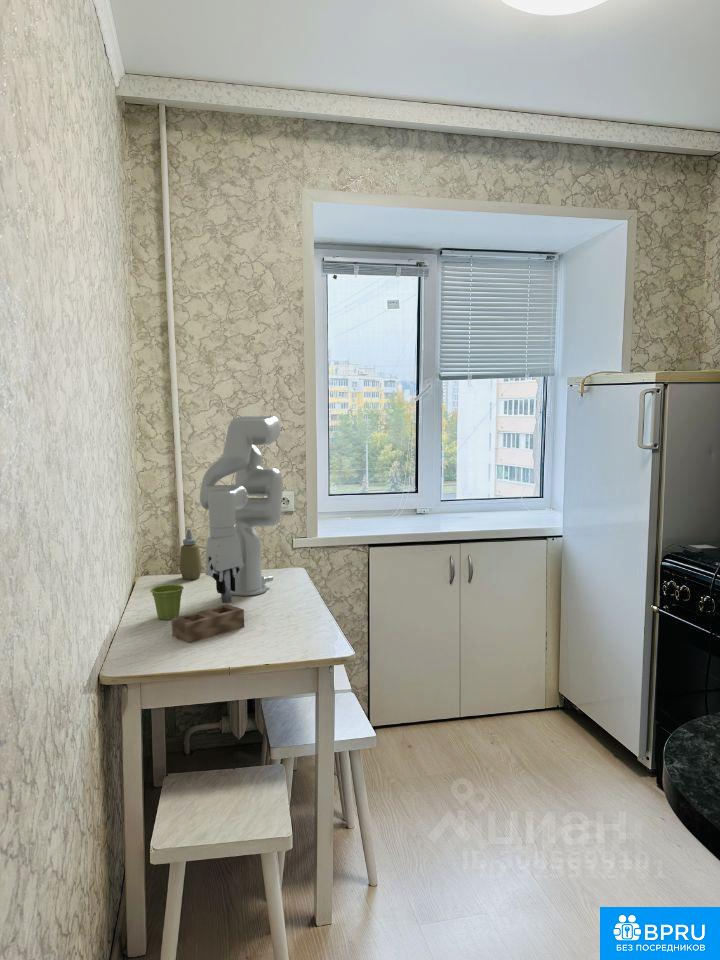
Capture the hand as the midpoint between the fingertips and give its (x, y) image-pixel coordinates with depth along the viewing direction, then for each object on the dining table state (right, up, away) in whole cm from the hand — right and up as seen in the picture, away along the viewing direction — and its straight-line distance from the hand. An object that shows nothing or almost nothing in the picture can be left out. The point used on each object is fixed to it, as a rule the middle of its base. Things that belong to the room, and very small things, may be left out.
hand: (226, 591), depth 205 cm
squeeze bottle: (-22, -3, +46) cm, 51 cm away
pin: (0, -3, 0) cm, 3 cm away
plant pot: (-17, -8, -1) cm, 19 cm away
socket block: (-2, -9, -15) cm, 18 cm away
